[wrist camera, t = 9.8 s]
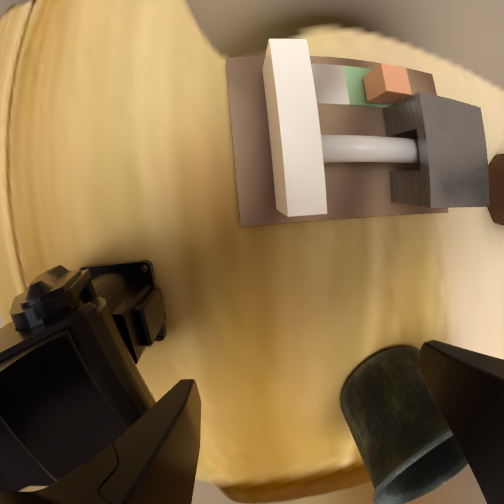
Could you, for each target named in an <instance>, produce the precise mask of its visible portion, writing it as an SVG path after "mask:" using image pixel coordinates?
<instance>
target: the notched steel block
mask: <svg viewBox="0 0 504 504" xmlns="http://www.w3.org/2000/svg"><path fill="white" fill-rule="evenodd" d="M382 111H383V118H384V125H385V133H386V137H396V138H408V139H416V140H418V144H419V154H420V166H421V171H397V172H389V175H390V192H391V202H396V203H402V204H409V205H415V206H421V207H427V208H449V207H489V175H488V160H487V150H486V141H485V133H484V126H483V120H482V114H481V109H480V108H479V107H476V106H473V105H470V104H466V103H463V102H459V101H456V100H452V99H448V98H444V97H440V96H436V95H432V94H427V93H422V92H417V93H415V94H413V95H411V96H408V97H406V98H404V99H402V100H400V101H398V102H396V103H393V104H391V105H389V106H387V107H385V108H383V109H382Z"/></svg>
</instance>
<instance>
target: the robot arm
mask: <svg viewBox="0 0 504 504" xmlns="http://www.w3.org/2000/svg"><path fill="white" fill-rule="evenodd" d="M143 265H146V266H147V270H144V269H143ZM10 315H11V317H12V319H13V321H12V322H11V323H9V324H7V325H6V326H4V327H2V328H1V329H0V504H191V502H192V495H193V489H194V482H195V475H196V469H197V462H198V456H199V449H200V425H201V400H200V396H199V392H198V388H197V384H196V381H195V380H194V379H182V380H180V381H179V382H178V383H177V384H176V385H175V386H174V387H173V388H172V389H171V390H170V391H168V392H167V393H166V394H165V395H164V396H163V397H162V398H161V399H160V400H159V401H158V402H157V403H156V401H155V399H154V397H153V395H152V394H151V392H150V390H149V388H148V387H147V385H146V383H145V381H144V379H143V378H142V376H141V374H140V372H139V370H138V368H137V366H136V364H137V363H138V361H139V359H140V357H141V355H142V353H143V351H144V349H145V348H146V347H150V346H151V345H152V344H153V342H154V341H161V340H163V339H164V338H165V336H166V331H165V327H164V321H165V319H166V317H165V312H164V308H163V303H162V298H161V293H160V289H159V288H158V287H157V286H156V285H155V279H154V274H153V268H152V265H151V263H150V262H149V261H147V260H142V261H132V262H122V263H112V264H102V265H92V266H84V267H81V268H80V269H79V270H76V271H72V272H71V271H68V270H67V269H65V268H64V267H63V266H61V265H59V266H56V267H54V268H52V269H50V270H48V271H46V272H44V273H42V274H41V275H39V276H37V277H36V278H35V279H34V280H33V282H32V283H31V284H30V286H29V287H28V288H26V290H25V291H24V293H22V294H20V295H18V296H17V297H15V298H14V300H13V303H12V307H11V310H10ZM158 333H161V334H162V336H160V335H158ZM418 368H419V370H420V372H421V375H422V377H423V379H424V381H425V383H426V385H427V387H428V389H429V392H430V394H431V396H432V398H433V400H434V402H435V404H436V406H437V407H438V409H439V411H440V412H441V414H442V416H443V417H444V419H445V421H446V423H447V424H448V426H449V428H450V430H451V432H452V433H453V435H454V437H455V439H456V441H457V443H458V444H459V446H460V448H461V450H462V452H463V454H464V456H465V458H466V460H467V462H468V464H469V465H470V467H471V470H472V472H473V474H474V476H475V478H476V480H477V482H478V484H479V486H480V488H481V491H482V493H483V495H484V497H485V500H486V502H487V504H504V360H503V359H499V358H495V357H492V356H488V355H484V354H481V353H477V352H474V351H470V350H467V349H463V348H460V347H456V346H453V345H449V344H446V343H442V342H439V341H436V340H430V341H427V342H424V343H423V345H422V347H421V351H420V356H419V360H418ZM29 486H48V487H46V488H44V489H41V490H38V491H34V492H20V491H21V490H23V489H25V488H27V487H29Z"/></svg>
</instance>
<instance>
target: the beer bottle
mask: <svg viewBox="0 0 504 504" xmlns="http://www.w3.org/2000/svg"><path fill="white" fill-rule="evenodd" d="M488 175H489V207H488V209H489V211H490V213H491V216H492V218H493V221H494V222H495V223H497V224H501V225H504V154H499V155H496V156H495V158H494V159H493V161H492V162H491V164H490V165H489V167H488Z"/></svg>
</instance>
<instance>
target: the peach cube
mask: <svg viewBox="0 0 504 504" xmlns="http://www.w3.org/2000/svg"><path fill="white" fill-rule="evenodd" d="M363 81H364V87H365V92H366V98H367V102H370V103H380V104H389V105H391V104H393V103H395V102H397V101H400V100H402V99H404V98H406V97H408V96H410V95H412V93H411V88H410V83H409V79H408V74H407V70H406V68H403V67H399V66H393V65H388V64H382V63H380V64H379V65H378V66H377V67H375V68H374V69H373V70H372V71H370V72H369V73H368V74H367V75H365V76H364V77H363Z"/></svg>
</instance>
